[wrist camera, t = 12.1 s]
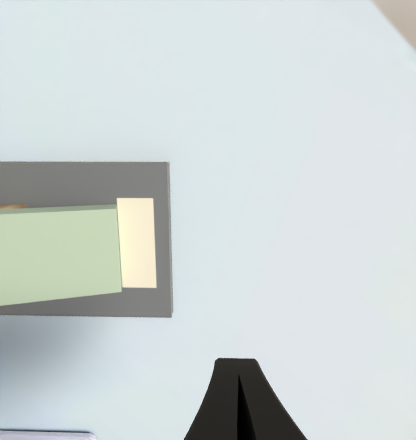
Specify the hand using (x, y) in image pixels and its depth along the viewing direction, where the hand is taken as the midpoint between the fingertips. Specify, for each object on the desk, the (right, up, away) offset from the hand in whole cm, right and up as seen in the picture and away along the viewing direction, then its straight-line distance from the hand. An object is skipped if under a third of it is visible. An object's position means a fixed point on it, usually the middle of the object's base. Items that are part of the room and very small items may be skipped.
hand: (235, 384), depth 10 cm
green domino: (-6, +4, +8) cm, 11 cm away
